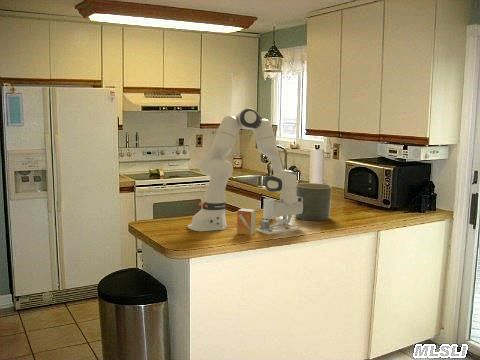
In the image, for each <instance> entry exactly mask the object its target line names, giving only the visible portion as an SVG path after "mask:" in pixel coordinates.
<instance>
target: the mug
mask: <svg viewBox="0 0 480 360" xmlns="http://www.w3.org/2000/svg"><path fill="white" fill-rule="evenodd" d="M275 201H276V200H275V198H263V207H262V208H263V213H262V214H263V220H266V219H267V220H268V221H271V219H272V220H274V217H275V216H273V215H272V210H273V204H274V202H275Z"/></svg>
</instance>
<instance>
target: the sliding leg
mask: <svg viewBox="0 0 480 360" xmlns="http://www.w3.org/2000/svg"><path fill="white" fill-rule="evenodd" d="M286 218H287V217H286ZM286 218H283V217H277V224H278V226H280V227H281V226H291V225H292V224H290V223H289V224H287V219H288V218H287V219H286Z"/></svg>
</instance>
